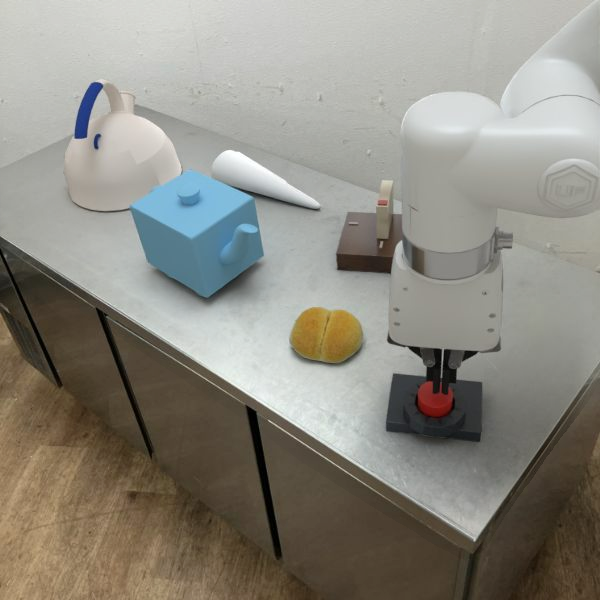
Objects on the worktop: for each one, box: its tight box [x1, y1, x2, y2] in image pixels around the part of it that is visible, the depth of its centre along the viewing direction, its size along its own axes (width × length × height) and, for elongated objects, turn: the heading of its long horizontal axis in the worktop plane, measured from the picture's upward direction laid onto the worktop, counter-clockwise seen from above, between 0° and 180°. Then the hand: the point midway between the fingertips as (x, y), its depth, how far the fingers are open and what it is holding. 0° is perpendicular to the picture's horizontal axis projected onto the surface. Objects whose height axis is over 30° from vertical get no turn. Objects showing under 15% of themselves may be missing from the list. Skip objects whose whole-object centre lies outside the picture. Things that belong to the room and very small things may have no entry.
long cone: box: [210, 149, 322, 210], centre depth 106 cm, size 6×6×19 cm
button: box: [418, 381, 453, 418], centre depth 69 cm, size 4×4×2 cm
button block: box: [385, 373, 483, 443], centre depth 71 cm, size 10×8×4 cm
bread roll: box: [288, 306, 364, 364], centre depth 80 cm, size 8×9×4 cm
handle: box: [375, 179, 394, 239], centre depth 91 cm, size 6×2×6 cm, turn 167°
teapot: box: [129, 168, 265, 299], centre depth 89 cm, size 22×11×14 cm, turn 48°
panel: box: [335, 211, 402, 274], centre depth 94 cm, size 12×12×3 cm
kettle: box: [63, 78, 183, 212], centre depth 110 cm, size 20×21×18 cm
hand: (441, 383), depth 67 cm, fingers closed
